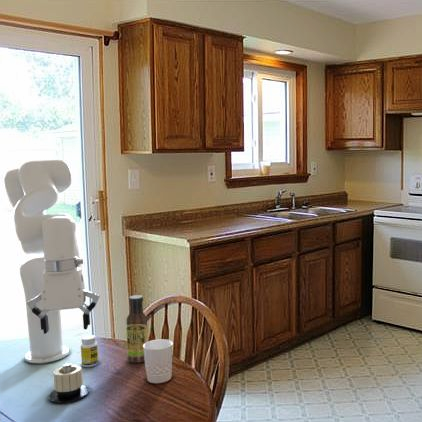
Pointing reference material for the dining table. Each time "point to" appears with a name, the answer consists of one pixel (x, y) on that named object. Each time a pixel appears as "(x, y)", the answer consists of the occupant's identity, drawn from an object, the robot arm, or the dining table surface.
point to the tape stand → (71, 395)
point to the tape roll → (68, 379)
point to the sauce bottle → (136, 330)
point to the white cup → (158, 360)
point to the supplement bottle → (89, 351)
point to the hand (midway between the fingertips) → (66, 329)
